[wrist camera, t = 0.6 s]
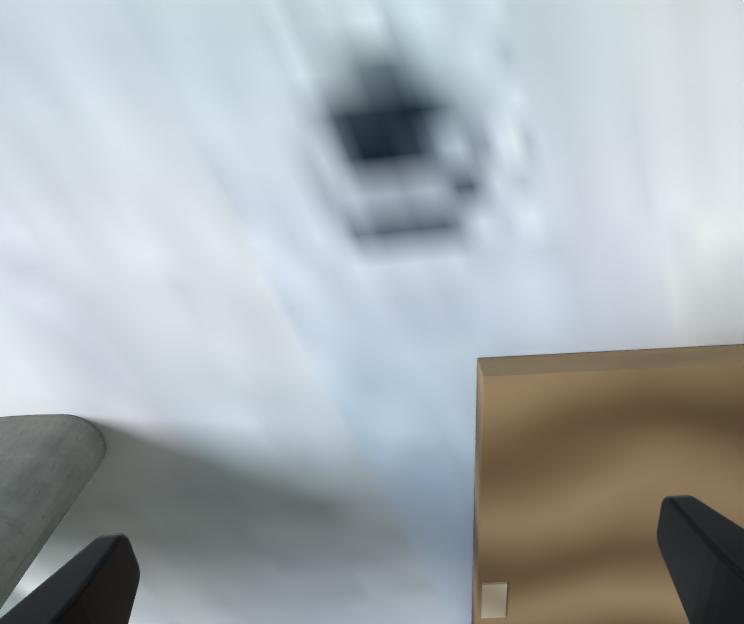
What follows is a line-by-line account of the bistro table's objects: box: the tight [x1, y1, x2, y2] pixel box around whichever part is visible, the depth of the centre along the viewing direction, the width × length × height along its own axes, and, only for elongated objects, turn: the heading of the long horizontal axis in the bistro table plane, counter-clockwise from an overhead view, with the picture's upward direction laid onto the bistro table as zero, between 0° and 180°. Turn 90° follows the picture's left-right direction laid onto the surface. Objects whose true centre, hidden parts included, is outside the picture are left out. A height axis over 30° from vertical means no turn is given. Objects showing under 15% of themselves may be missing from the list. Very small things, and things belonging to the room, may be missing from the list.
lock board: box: [472, 344, 744, 624], centre depth 27 cm, size 22×22×2 cm
